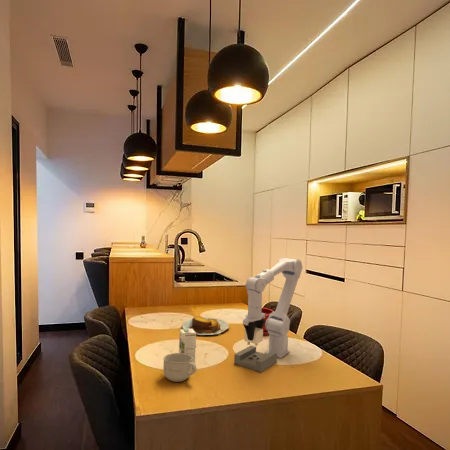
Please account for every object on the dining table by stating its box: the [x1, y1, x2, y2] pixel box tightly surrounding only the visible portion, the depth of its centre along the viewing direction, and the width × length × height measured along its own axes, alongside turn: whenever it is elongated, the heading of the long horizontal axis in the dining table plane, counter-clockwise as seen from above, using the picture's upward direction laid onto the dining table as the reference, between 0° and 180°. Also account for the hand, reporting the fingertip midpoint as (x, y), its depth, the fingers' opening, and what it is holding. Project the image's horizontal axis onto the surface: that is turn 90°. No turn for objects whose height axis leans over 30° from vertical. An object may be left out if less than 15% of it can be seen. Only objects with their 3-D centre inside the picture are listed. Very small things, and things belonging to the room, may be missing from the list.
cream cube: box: [243, 328, 264, 347], centre depth 142 cm, size 5×6×6 cm
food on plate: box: [180, 316, 230, 336], centre depth 184 cm, size 26×26×7 cm
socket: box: [233, 345, 278, 373], centre depth 141 cm, size 13×13×4 cm
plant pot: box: [261, 307, 275, 336], centre depth 181 cm, size 13×13×12 cm
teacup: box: [163, 352, 197, 383], centre depth 125 cm, size 14×11×8 cm
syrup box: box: [178, 328, 197, 369], centre depth 136 cm, size 6×6×14 cm
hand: (254, 338), depth 141 cm, fingers closed on cream cube, 5 cm apart
